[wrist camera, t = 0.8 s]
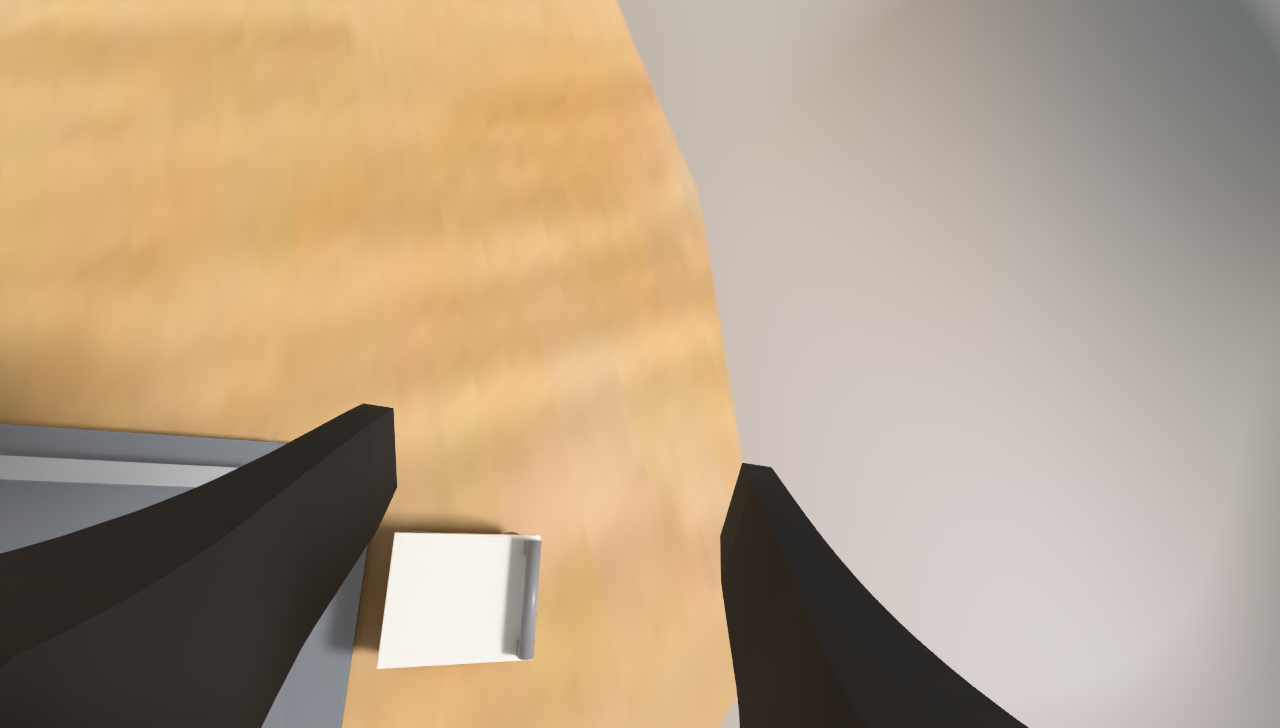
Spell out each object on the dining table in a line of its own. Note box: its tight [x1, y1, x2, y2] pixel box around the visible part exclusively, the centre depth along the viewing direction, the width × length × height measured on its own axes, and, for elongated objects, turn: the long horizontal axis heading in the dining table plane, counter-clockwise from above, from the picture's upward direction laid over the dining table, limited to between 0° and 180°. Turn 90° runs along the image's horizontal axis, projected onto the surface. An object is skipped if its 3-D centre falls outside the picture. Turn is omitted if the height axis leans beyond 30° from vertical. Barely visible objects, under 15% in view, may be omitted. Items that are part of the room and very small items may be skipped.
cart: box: [377, 530, 541, 669], centre depth 25 cm, size 5×6×3 cm
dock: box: [0, 424, 368, 728], centre depth 21 cm, size 12×16×2 cm
